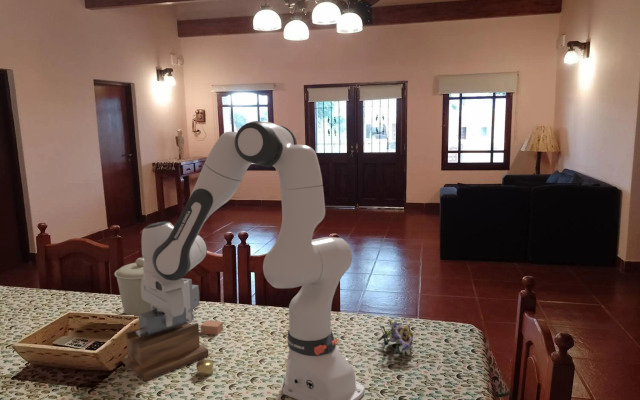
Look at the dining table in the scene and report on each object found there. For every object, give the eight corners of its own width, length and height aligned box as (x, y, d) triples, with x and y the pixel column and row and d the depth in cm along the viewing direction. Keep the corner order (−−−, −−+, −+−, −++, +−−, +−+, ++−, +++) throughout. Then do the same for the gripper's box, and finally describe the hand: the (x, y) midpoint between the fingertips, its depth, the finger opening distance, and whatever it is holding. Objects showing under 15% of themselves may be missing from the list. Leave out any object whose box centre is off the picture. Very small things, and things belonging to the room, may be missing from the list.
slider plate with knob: (142, 338, 134) (140, 318, 133) (133, 332, 138) (132, 312, 137) (192, 321, 145) (191, 302, 144) (183, 316, 149) (182, 298, 148)
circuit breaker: (202, 312, 177) (200, 273, 174) (181, 328, 163) (178, 286, 161) (184, 310, 179) (182, 272, 176) (162, 326, 165) (159, 284, 163)
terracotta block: (222, 330, 162) (222, 322, 162) (217, 335, 158) (217, 326, 158) (206, 328, 164) (206, 320, 163) (201, 333, 160) (200, 325, 159)
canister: (125, 327, 164) (121, 268, 160) (112, 311, 178) (107, 256, 175) (177, 315, 175) (173, 259, 171) (160, 300, 189) (157, 248, 185)
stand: (208, 355, 144) (207, 326, 143) (144, 381, 130) (142, 348, 129) (182, 338, 155) (180, 311, 154) (120, 360, 142) (118, 330, 140)
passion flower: (406, 371, 145) (408, 352, 137) (372, 358, 149) (372, 340, 140) (416, 339, 152) (419, 319, 144) (383, 328, 156) (384, 308, 147)
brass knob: (216, 373, 134) (215, 363, 134) (202, 379, 131) (202, 369, 131) (207, 367, 137) (207, 357, 137) (194, 373, 134) (193, 363, 134)
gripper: (133, 271, 144) (137, 315, 146) (166, 288, 129) (169, 336, 132) (153, 267, 148) (156, 309, 151) (187, 282, 134) (189, 329, 136)
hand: (162, 322), depth 141 cm, fingers closed on slider plate with knob, 5 cm apart
